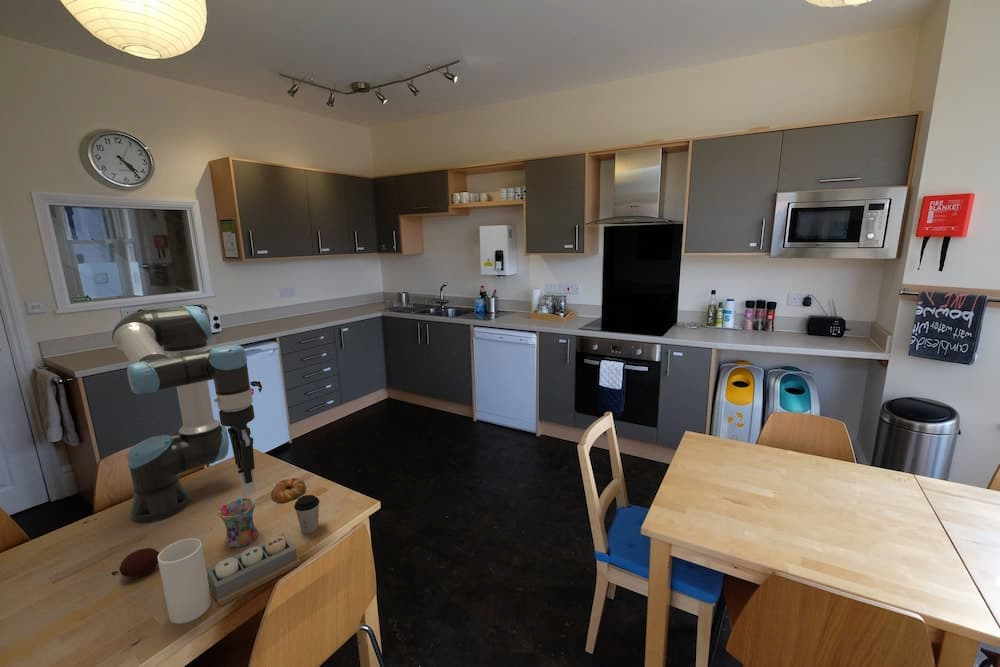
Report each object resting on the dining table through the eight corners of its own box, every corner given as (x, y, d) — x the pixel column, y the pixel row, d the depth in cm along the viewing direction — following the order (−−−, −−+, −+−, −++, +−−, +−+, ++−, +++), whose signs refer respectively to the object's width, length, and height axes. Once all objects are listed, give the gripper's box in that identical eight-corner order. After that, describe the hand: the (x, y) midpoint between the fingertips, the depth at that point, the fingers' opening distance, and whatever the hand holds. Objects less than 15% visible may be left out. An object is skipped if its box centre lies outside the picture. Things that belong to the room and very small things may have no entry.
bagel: (296, 504, 146) (295, 494, 146) (263, 504, 146) (262, 494, 146) (311, 484, 158) (310, 475, 157) (281, 484, 158) (280, 475, 157)
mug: (256, 546, 126) (251, 513, 124) (219, 553, 123) (213, 519, 121) (264, 521, 137) (260, 490, 135) (230, 527, 134) (225, 496, 132)
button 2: (240, 563, 115) (238, 552, 115) (259, 554, 119) (258, 543, 118) (246, 573, 112) (244, 561, 111) (266, 563, 115) (264, 552, 115)
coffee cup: (327, 525, 135) (324, 496, 133) (309, 539, 128) (305, 508, 126) (310, 519, 138) (307, 490, 135) (291, 533, 131) (288, 502, 129)
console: (206, 580, 113) (203, 565, 113) (283, 543, 127) (281, 530, 126) (219, 606, 105) (217, 591, 104) (300, 564, 118) (298, 550, 118)
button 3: (263, 552, 119) (262, 541, 119) (282, 543, 123) (281, 533, 122) (270, 561, 116) (268, 550, 115) (289, 552, 120) (287, 541, 119)
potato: (122, 570, 117) (118, 551, 116) (161, 557, 122) (157, 538, 121) (120, 587, 111) (116, 567, 110) (161, 572, 116) (157, 552, 115)
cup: (183, 596, 108) (172, 539, 105) (218, 594, 109) (208, 536, 106) (161, 625, 100) (148, 563, 97) (199, 622, 101) (187, 561, 98)
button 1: (214, 575, 111) (212, 564, 111) (235, 565, 115) (234, 554, 114) (219, 585, 108) (217, 574, 107) (241, 575, 111) (239, 563, 111)
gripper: (212, 405, 114) (226, 489, 118) (226, 417, 105) (240, 508, 109) (244, 397, 119) (256, 478, 123) (260, 408, 110) (272, 495, 114)
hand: (249, 492), depth 116 cm, fingers closed
